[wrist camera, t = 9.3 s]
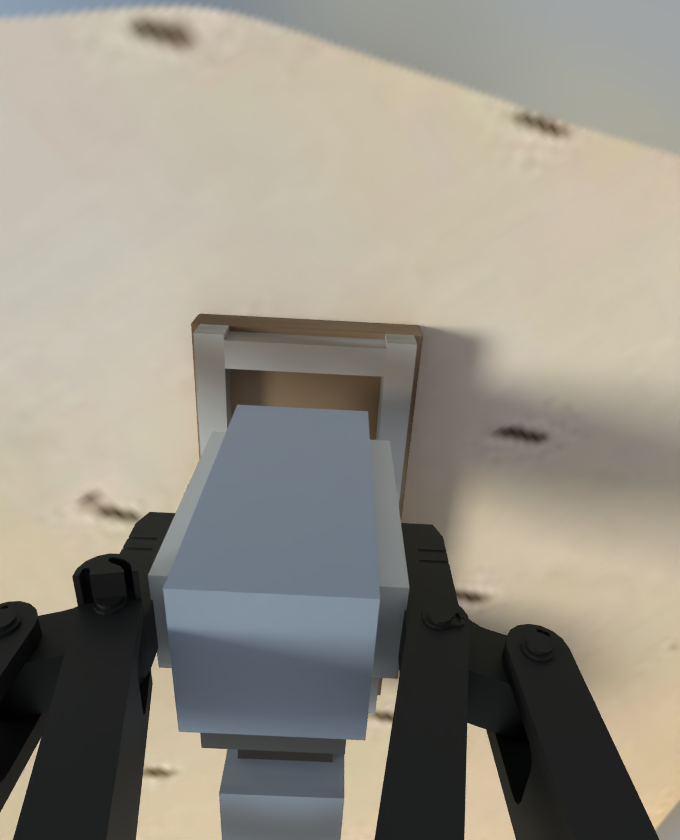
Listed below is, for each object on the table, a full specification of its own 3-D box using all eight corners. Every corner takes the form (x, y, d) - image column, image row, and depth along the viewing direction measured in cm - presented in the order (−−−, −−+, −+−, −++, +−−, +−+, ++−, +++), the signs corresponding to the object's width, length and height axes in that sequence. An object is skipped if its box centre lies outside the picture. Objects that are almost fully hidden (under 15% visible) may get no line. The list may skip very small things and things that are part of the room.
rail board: (378, 674, 29) (392, 886, 21) (218, 667, 29) (168, 878, 21) (418, 325, 22) (464, 446, 13) (198, 313, 21) (106, 428, 13)
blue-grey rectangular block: (241, 531, 20) (181, 755, 13) (237, 404, 18) (162, 588, 11) (358, 537, 20) (362, 763, 13) (368, 411, 18) (379, 598, 11)
